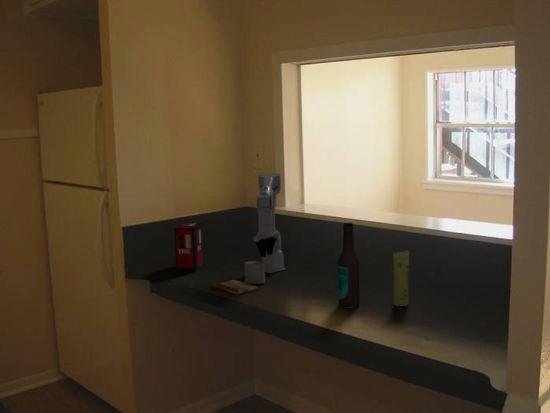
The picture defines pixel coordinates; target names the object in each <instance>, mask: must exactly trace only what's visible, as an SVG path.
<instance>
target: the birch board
mask: <svg viewBox="0 0 550 413" xmlns="http://www.w3.org/2000/svg"><path fill="white" fill-rule="evenodd" d="M212 287H213V288H216V289H217V290H221V291H225V292H228V293H231V294H234V295H240V294H244V293H248V292H252V291H255V290H256V291H257V290H259V286H256V285H255V284H247V283H245V282H243V281H239V280H235V279H231V280H227V281H224V282H217V281H212Z"/></svg>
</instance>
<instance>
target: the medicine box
mask: <svg viewBox="0 0 550 413" xmlns="http://www.w3.org/2000/svg"><path fill="white" fill-rule="evenodd" d="M265 282H266V272H265V263H264V261H262V260H261V261H246V262H245V263H244V283H247V284H250V285H264V284H265Z"/></svg>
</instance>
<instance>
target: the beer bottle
mask: <svg viewBox="0 0 550 413" xmlns="http://www.w3.org/2000/svg"><path fill="white" fill-rule="evenodd" d="M342 225H343V227H342V230H343V235H342V236H343V237H342V251H341V254H340V255H339V256H338V258H337V259H338V260H337V275H338V276H337V285H338V286H337V288H338V290H337V296H338V306H339V307H340V306H341V307H340V308H342V307H346V308H345V309H349V308H348V307H356V308H358V307H359V306H360V301H361V299H360V297H361V296H360V295H361V294H360V289H361V288H360V259H359V257H358V255H357V254H356V252H355V243H354V239H355V238H354V223H353V222H344V223H343V224H342ZM357 306H358V307H357Z"/></svg>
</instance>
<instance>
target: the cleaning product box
mask: <svg viewBox="0 0 550 413" xmlns="http://www.w3.org/2000/svg"><path fill="white" fill-rule="evenodd" d="M173 230H174V248H175V249H174V250H175V268H176V270H175V271H176V273H196V272H197V271H198V270H200V269H201V268H202V267H203V266H204V264H206V261H205V260H206V259H205V240H204V239H205V238H204V237H205V236H204V222H203V221H184V222H182V223H180V224H178V226H176V227H174V228H173Z"/></svg>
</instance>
